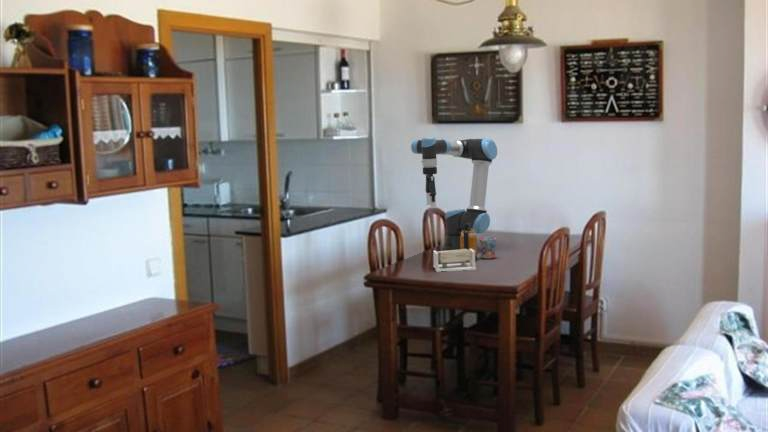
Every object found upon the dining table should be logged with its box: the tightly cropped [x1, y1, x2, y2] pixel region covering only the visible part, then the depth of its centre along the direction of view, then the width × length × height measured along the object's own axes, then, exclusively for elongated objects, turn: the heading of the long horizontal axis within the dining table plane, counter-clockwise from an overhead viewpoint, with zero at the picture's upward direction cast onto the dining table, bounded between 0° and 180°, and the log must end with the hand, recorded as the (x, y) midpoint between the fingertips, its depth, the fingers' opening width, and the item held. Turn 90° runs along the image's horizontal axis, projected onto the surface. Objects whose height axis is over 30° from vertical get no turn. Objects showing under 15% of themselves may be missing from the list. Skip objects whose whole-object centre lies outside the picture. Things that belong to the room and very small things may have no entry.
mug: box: [479, 237, 497, 260], centre depth 434 cm, size 12×9×11 cm
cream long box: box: [437, 249, 471, 264], centre depth 408 cm, size 6×16×5 cm, turn 106°
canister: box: [460, 223, 478, 262], centre depth 429 cm, size 9×11×20 cm
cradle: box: [432, 249, 477, 273], centre depth 408 cm, size 14×20×9 cm
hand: (431, 206), depth 423 cm, fingers open, 13 cm apart
